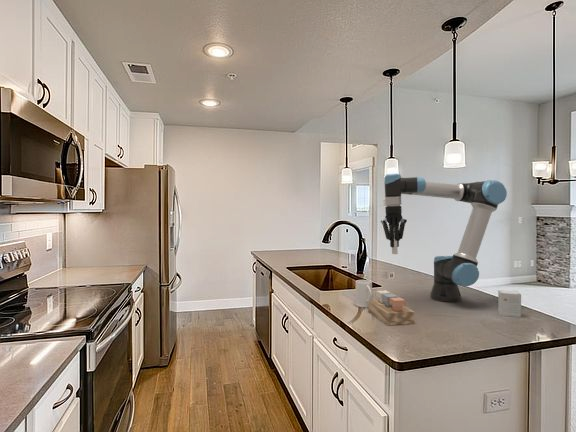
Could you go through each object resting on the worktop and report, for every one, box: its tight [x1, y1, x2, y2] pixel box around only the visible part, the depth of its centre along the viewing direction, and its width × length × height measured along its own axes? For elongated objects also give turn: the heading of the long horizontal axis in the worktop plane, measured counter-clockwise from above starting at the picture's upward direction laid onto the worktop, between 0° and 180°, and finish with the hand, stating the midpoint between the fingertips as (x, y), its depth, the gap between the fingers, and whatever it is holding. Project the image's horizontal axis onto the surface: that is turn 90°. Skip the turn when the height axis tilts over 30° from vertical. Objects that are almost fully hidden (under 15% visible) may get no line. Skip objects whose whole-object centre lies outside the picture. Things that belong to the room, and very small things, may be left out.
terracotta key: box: [389, 296, 406, 312], centre depth 151 cm, size 5×5×7 cm
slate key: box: [383, 293, 399, 308], centre depth 158 cm, size 5×5×7 cm
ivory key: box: [376, 290, 392, 304], centre depth 164 cm, size 5×5×7 cm
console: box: [367, 299, 415, 326], centre depth 158 cm, size 12×20×5 cm, turn 10°
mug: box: [354, 279, 373, 308], centre depth 176 cm, size 12×8×12 cm
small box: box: [497, 289, 522, 318], centre depth 161 cm, size 8×6×10 cm
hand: (394, 253), depth 172 cm, fingers closed
